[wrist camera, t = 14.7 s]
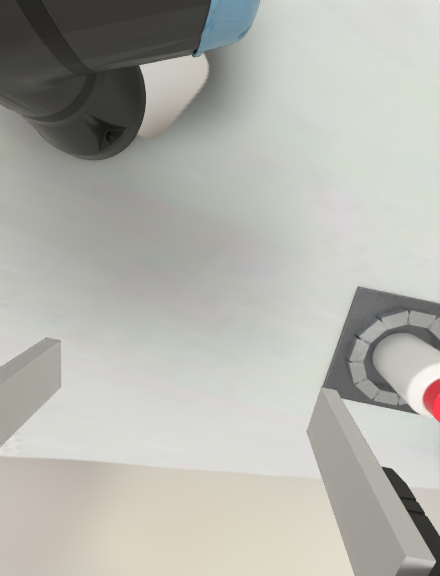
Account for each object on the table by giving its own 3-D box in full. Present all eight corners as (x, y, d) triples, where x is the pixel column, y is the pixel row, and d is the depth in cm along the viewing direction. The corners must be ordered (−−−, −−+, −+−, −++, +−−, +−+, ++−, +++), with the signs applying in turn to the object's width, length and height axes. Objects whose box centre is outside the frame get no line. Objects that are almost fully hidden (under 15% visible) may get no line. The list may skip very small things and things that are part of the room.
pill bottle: (379, 385, 41) (431, 443, 30) (365, 343, 39) (414, 389, 28) (431, 368, 40) (503, 423, 29) (418, 324, 38) (490, 365, 27)
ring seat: (358, 286, 38) (363, 289, 36) (480, 312, 38) (492, 316, 36) (321, 391, 42) (324, 399, 41) (429, 414, 42) (438, 422, 40)
